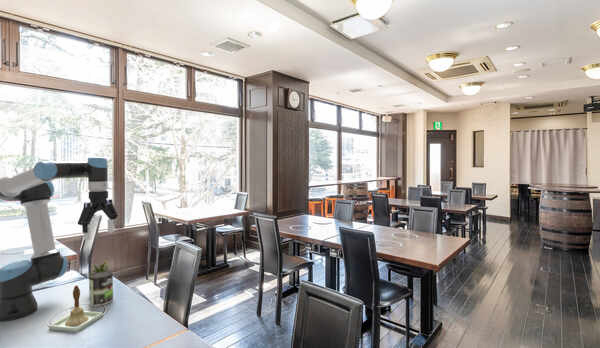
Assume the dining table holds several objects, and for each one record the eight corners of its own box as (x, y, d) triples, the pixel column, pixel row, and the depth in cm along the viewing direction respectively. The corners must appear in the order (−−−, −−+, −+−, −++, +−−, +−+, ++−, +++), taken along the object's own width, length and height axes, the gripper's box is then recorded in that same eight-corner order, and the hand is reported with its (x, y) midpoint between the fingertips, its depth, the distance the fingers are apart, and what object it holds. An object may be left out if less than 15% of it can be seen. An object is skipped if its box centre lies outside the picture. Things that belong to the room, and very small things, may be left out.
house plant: (90, 286, 173) (89, 258, 173) (117, 283, 178) (116, 256, 177) (80, 297, 160) (79, 266, 159) (110, 293, 164) (109, 264, 163)
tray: (49, 329, 129) (48, 325, 129) (77, 314, 142) (77, 310, 142) (76, 332, 126) (76, 328, 126) (103, 316, 140) (102, 312, 140)
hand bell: (93, 318, 137) (92, 283, 137) (75, 327, 129) (74, 290, 129) (78, 315, 139) (77, 281, 139) (60, 325, 131) (59, 288, 131)
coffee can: (118, 298, 159) (117, 271, 158) (101, 307, 149) (101, 278, 148) (101, 296, 161) (100, 270, 160) (84, 305, 151) (83, 277, 150)
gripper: (82, 193, 127) (83, 243, 128) (125, 188, 152) (126, 230, 153) (66, 193, 129) (68, 242, 129) (112, 188, 153) (113, 229, 154)
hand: (99, 236), depth 141 cm, fingers open, 13 cm apart
